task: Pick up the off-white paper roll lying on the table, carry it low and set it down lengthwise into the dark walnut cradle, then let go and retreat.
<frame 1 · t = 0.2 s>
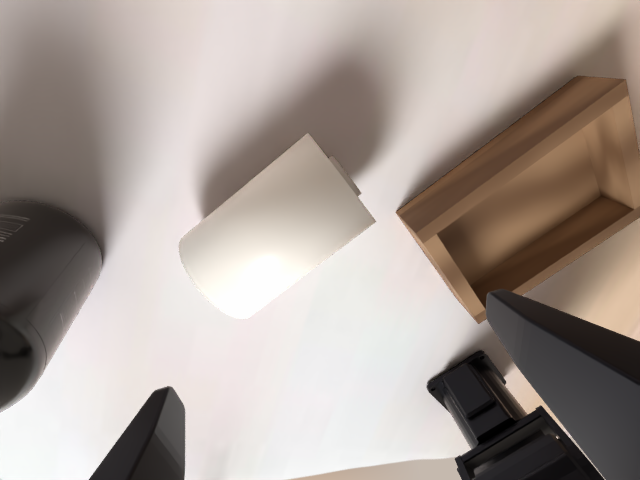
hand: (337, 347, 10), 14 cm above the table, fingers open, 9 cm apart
walnut cradle: (508, 202, 25), on the table
paper roll: (279, 228, 20), point 3 cm above the table
supplement bottle: (43, 249, 21), on the table
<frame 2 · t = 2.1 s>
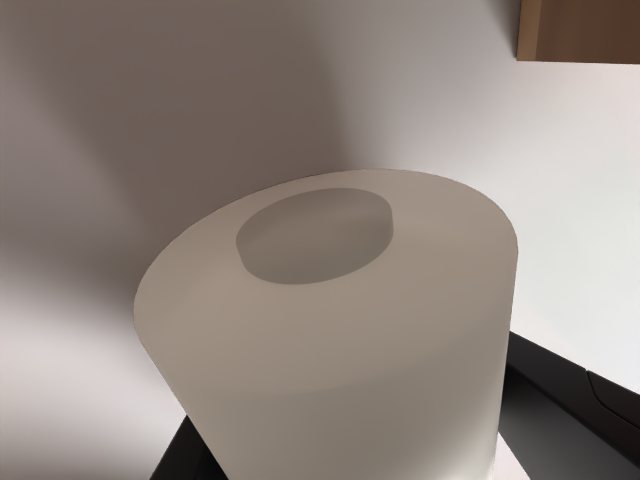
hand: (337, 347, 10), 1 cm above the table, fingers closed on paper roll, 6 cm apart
paper roll: (353, 399, 8), point 3 cm above the table, touching gripper
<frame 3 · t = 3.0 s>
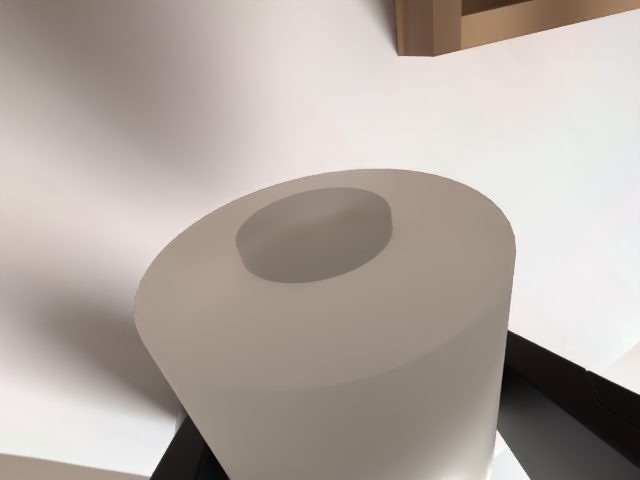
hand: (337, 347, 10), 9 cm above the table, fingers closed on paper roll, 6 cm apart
paper roll: (353, 397, 8), point 11 cm above the table, touching gripper
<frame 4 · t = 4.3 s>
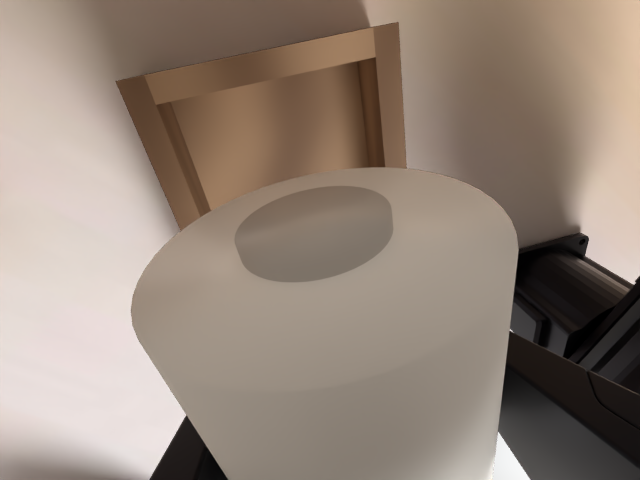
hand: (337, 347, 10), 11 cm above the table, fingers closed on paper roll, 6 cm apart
walnut cradle: (292, 195, 19), on the table
paper roll: (353, 398, 8), point 13 cm above the table, touching gripper
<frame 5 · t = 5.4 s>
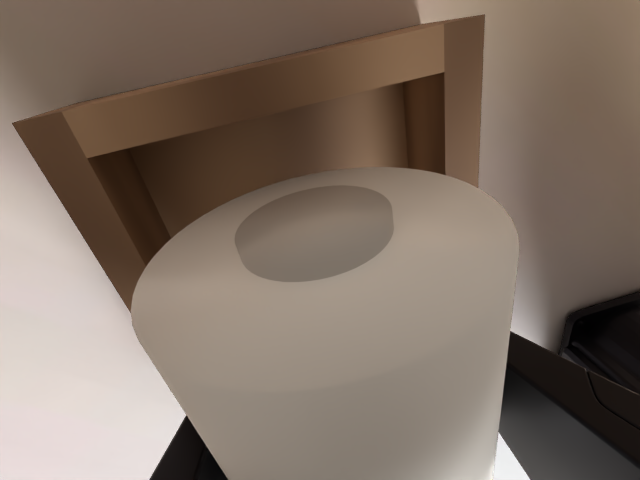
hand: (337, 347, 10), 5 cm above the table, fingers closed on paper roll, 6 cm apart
walnut cradle: (305, 256, 14), on the table
paper roll: (353, 398, 8), point 7 cm above the table, touching gripper
when the fingers open (4 cm above the table, at t = 6.5 s): paper roll drops 2 cm, resting on walnut cradle.
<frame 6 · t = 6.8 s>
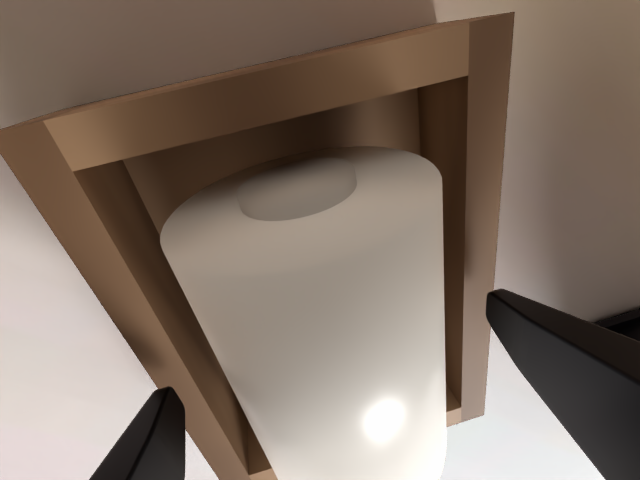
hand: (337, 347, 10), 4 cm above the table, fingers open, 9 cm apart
walnut cradle: (311, 269, 13), on the table
paper roll: (333, 336, 10), point 4 cm above the table, touching walnut cradle
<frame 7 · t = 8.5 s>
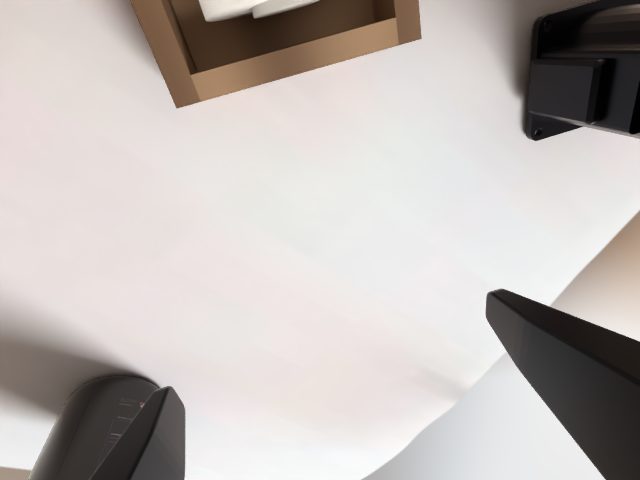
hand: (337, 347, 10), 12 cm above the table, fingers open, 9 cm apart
supplement bottle: (122, 402, 25), on the table
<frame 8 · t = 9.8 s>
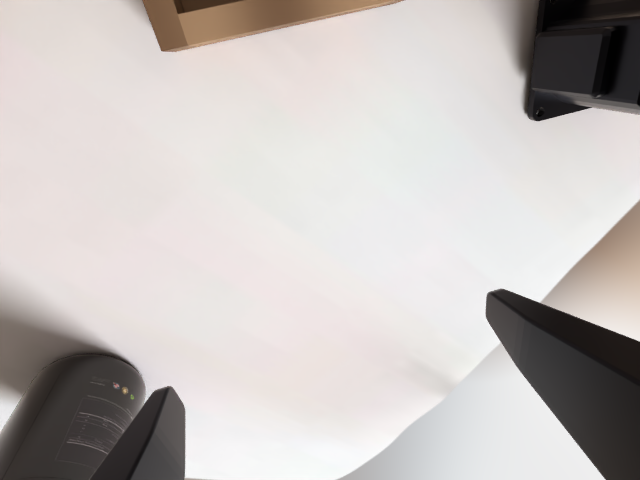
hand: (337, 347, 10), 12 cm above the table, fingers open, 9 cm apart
supplement bottle: (95, 384, 24), on the table
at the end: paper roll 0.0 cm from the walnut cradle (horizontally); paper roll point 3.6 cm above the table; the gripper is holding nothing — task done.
